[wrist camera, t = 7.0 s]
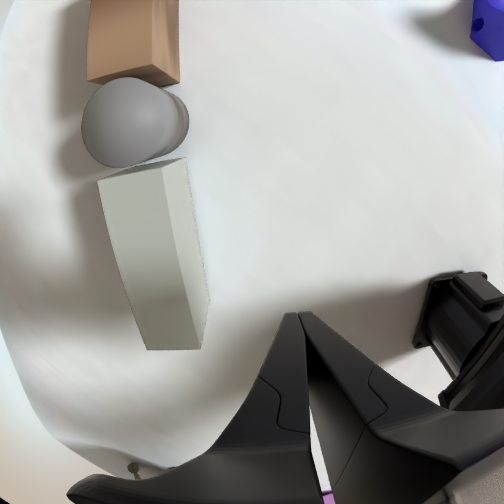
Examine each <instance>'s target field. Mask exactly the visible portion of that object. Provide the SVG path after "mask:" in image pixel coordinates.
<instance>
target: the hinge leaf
mask: <svg viewBox="0 0 504 504" xmlns="http://www.w3.org/2000/svg"><path fill="white" fill-rule="evenodd" d="M177 128H178V111H177V108H176V105H175V103H174V101H173V99H172V98H171V97H170V95H169V94H168V93H166V92H165V91H164V90H162V89H160V88H158V87H156V86H154V85H152V84H150V83H147V82H145V81H143V80H140V79H137V78H131V77H125V78H119V79H115V80H112V81H110V82H108V83H106V84H105V85H103V86H102V87H101V88H99V89H98V90H97V91H96V92H95V93H94V95H93V96H92V97H91V99H90V100H89V102H88V104H87V105H86V108H85V110H84V114H83V118H82V127H81V129H82V137H83V141H84V144H85V146H86V148H87V150H88V152H89V153H90V154H91V156H92V157H93V158H94V159H95V160H97V161H98V162H100V163H101V164H103V165H105V166H108V167H113V168H124V167H128V166H132V165H135V164H138V163H141V162H144V161H147V160H150V159H152V158H155V157H157V156H158V155H160V154H161V153H162V152H164V151H165V150H166V149H167V148H168V146H169V145H170V144H171V142H172V141H173V139H174V137H175V135H176V132H177ZM97 183H98V188H99V193H100V198H101V202H102V207H103V211H104V216H105V220H106V224H107V228H108V232H109V236H110V240H111V244H112V247H113V251H114V255H115V258H116V262H117V265H118V269H119V272H120V275H121V278H122V282H123V285H124V288H125V291H126V294H127V297H128V300H129V303H130V306H131V309H132V312H133V315H134V317H135V320H136V323H137V326H138V328H139V331H140V334H141V336H142V339H143V341H144V344H145V346H146V349H147V350H193V349H201V345H202V339H203V334H204V329H205V324H206V319H207V314H208V309H209V304H210V297H209V292H208V287H207V282H206V277H205V272H204V267H203V261H202V256H201V250H200V245H199V239H198V233H197V227H196V221H195V215H194V209H193V203H192V197H191V190H190V184H189V177H188V170H187V163H186V157H184V158H178V159H172V160H166V161H160V162H155V163H150V164H144V165H139V166H135V167H132V168H129V169H127V170H124V171H121V172H119V173H116V174H113V175H111V176H108V177H106V178H103V179H101V180H98V181H97Z"/></svg>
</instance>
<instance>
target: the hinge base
mask: <svg viewBox="0 0 504 504" xmlns="http://www.w3.org/2000/svg"><path fill="white" fill-rule="evenodd" d="M178 1H179V0H91V6H90V16H89V28H88V45H87V81H89V82H93V83H98V84H102V85H105V84H106V83H108V82H110V81H112V80H115V79H119V78H125V77H131V78H137V79H140V80H143V81H145V82H147V83H150V84H152V85H154V86H162V85H168V84H174V83H180V71H179V30H178ZM162 90H163V89H162ZM164 91H165V90H164ZM165 92H166V93H168V94H169V95H170V97H171V98H172V99H173V101H174V103H175V105H176V108H177V111H178V128H177V132H176V135H175V137H174V139H173V141H172V142H171V144H170V145H169V146H168V148H167V149H166V150H165V151H164V152H162V153H161V154H160V155H158V156H157V157H159V156H163V155H166V154H168V153H170V152H172V151H173V150H175V149H176V148H177V147H178V146H179V145H180V144H181V143H182V142H183V140H184V139H185V137H186V134H187V132H188V128H189V114H188V111H187V108H186V106H185V105H184V103H183V102H182V101H181V100H180V99H179V98H178V97H177V96H175V95H173V94H171V93H169V92H167V91H165ZM155 158H156V157H155ZM152 159H153V158H152Z"/></svg>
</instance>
